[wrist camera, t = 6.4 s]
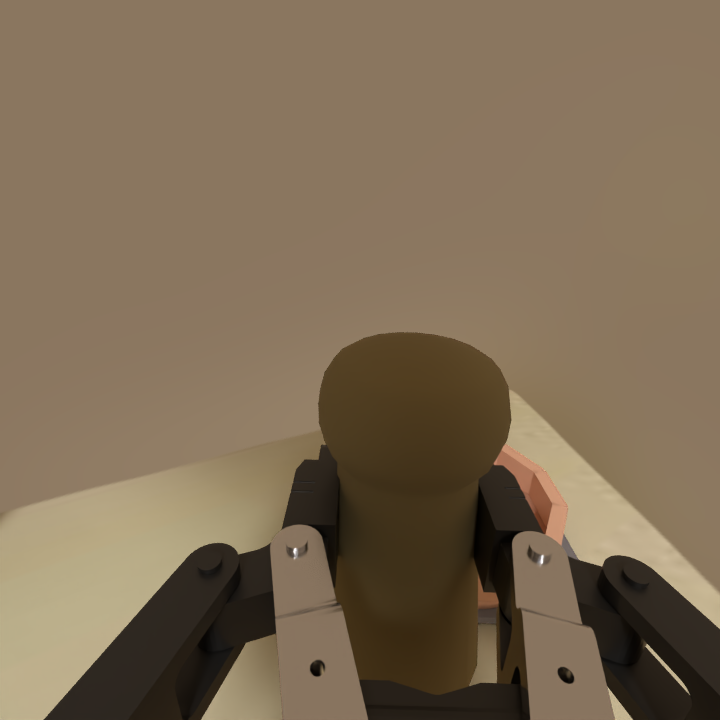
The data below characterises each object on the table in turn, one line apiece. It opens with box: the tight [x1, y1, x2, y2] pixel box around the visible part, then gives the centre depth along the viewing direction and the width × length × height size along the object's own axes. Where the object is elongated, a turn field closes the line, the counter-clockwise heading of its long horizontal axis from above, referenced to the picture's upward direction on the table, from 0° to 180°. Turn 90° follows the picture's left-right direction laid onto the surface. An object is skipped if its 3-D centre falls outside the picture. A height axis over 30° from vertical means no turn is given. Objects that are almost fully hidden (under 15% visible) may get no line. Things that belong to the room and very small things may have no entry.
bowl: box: [478, 444, 568, 609], centre depth 25 cm, size 12×12×2 cm
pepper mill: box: [318, 332, 511, 695], centre depth 13 cm, size 6×6×11 cm
